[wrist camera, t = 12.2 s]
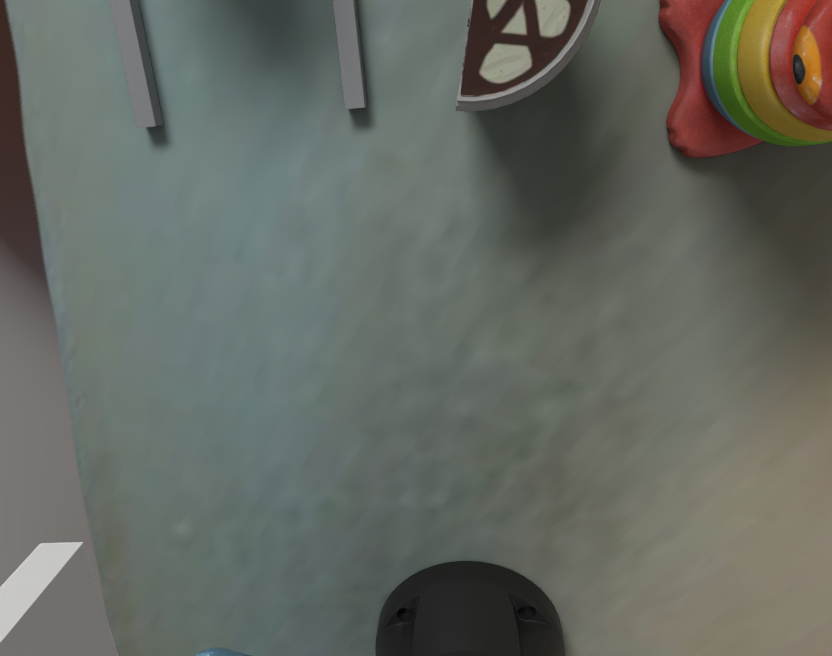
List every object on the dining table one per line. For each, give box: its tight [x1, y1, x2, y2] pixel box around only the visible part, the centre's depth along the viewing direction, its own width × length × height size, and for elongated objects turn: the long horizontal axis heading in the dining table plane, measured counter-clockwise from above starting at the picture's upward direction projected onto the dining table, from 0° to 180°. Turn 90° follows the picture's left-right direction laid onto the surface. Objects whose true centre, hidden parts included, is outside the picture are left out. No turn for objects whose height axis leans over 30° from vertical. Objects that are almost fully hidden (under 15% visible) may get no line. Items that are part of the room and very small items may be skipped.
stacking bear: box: [659, 0, 832, 158], centre depth 31 cm, size 11×10×18 cm
